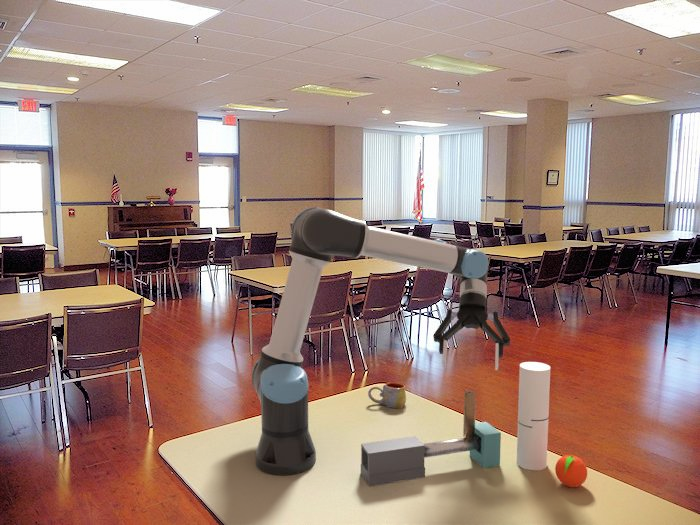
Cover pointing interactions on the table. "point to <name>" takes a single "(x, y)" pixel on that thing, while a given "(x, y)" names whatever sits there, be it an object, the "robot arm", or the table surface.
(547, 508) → the table surface
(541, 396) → the cylindrical container
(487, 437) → the end socket
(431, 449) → the sliding bolt
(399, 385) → the mug
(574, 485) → the clementine
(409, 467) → the outer sleeve
